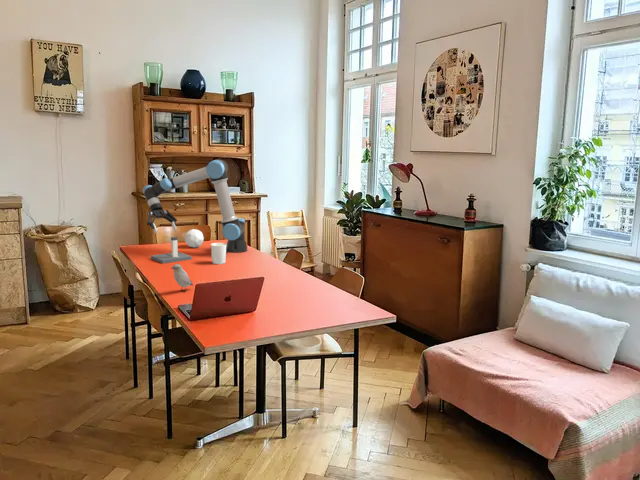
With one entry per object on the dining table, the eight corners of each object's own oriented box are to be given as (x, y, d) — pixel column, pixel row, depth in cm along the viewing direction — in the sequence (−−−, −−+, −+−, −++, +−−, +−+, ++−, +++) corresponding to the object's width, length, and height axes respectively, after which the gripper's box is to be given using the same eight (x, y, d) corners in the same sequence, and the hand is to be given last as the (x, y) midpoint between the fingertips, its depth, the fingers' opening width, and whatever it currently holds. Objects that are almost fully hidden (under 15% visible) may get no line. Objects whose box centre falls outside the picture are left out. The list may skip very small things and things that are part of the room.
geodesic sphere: (181, 237, 391) (183, 224, 381) (200, 236, 396) (202, 223, 387) (185, 252, 382) (187, 239, 373) (204, 250, 388) (206, 238, 378)
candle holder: (228, 261, 344) (228, 243, 342) (224, 264, 335) (224, 246, 332) (213, 260, 345) (213, 242, 343) (208, 264, 335) (208, 245, 333)
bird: (168, 293, 272) (167, 264, 269) (190, 287, 282) (189, 260, 279) (174, 295, 269) (173, 266, 266) (196, 289, 279) (195, 261, 276)
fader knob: (176, 256, 345) (175, 236, 342) (178, 256, 343) (177, 237, 340) (171, 256, 342) (170, 237, 340) (173, 257, 341) (172, 238, 338)
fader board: (178, 254, 359) (178, 251, 359) (191, 259, 347) (191, 256, 347) (150, 258, 346) (150, 255, 346) (162, 263, 334) (162, 260, 333)
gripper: (170, 208, 366) (181, 233, 359) (135, 210, 350) (146, 237, 342) (174, 201, 362) (185, 226, 354) (138, 203, 345) (149, 230, 337)
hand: (166, 231), depth 348 cm, fingers open, 13 cm apart
